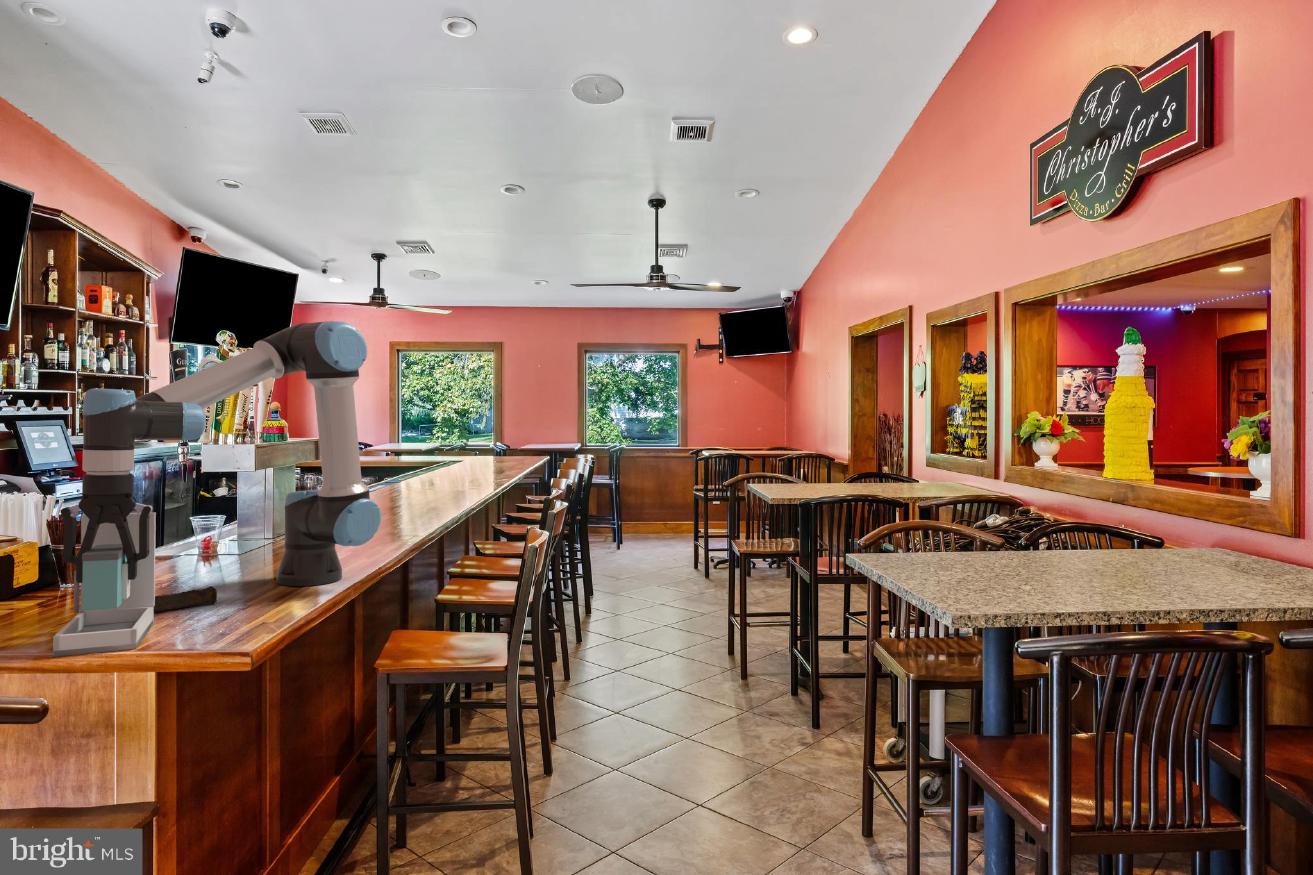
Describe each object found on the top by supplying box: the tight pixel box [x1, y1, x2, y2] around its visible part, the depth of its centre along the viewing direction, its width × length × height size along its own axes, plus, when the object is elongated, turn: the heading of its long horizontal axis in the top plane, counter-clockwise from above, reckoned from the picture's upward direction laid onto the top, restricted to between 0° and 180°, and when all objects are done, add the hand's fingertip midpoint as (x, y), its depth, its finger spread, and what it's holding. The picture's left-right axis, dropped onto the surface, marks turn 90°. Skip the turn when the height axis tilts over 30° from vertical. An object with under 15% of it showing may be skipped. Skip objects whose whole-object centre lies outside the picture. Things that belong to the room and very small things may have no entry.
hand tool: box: [154, 585, 218, 613], centre depth 151 cm, size 19×4×5 cm, turn 141°
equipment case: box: [52, 511, 157, 658], centre depth 132 cm, size 12×18×22 cm
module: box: [82, 544, 127, 611], centre depth 131 cm, size 5×10×10 cm, turn 26°
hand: (106, 598), depth 131 cm, fingers closed on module, 5 cm apart
